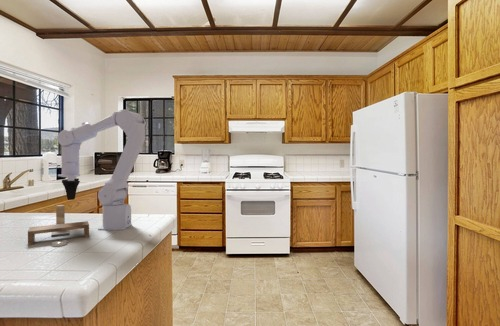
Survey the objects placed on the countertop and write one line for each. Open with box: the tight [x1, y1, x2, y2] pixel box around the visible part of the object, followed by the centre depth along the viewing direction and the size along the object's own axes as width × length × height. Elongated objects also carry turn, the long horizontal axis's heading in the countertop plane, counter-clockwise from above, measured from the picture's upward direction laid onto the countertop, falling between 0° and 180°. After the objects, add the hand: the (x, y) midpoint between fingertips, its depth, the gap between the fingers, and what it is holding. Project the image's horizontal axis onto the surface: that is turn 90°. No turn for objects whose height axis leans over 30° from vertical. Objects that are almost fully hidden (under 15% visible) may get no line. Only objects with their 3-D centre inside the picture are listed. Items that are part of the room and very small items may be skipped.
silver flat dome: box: [50, 239, 68, 248], centre depth 86 cm, size 4×4×1 cm
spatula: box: [50, 204, 70, 238], centre depth 100 cm, size 12×5×9 cm, turn 33°
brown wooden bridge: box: [27, 220, 90, 246], centre depth 92 cm, size 16×6×4 cm, turn 123°
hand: (70, 198), depth 108 cm, fingers open, 7 cm apart
